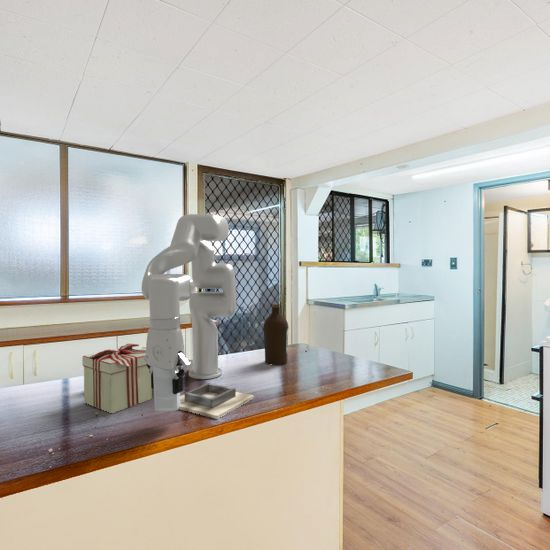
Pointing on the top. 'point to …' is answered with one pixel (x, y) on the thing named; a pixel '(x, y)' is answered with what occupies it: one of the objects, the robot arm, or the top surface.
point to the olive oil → (276, 337)
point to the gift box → (116, 378)
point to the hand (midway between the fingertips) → (167, 389)
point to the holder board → (213, 400)
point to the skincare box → (164, 390)
